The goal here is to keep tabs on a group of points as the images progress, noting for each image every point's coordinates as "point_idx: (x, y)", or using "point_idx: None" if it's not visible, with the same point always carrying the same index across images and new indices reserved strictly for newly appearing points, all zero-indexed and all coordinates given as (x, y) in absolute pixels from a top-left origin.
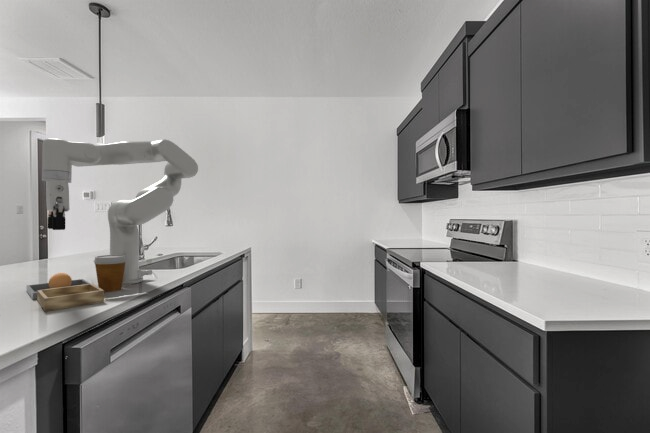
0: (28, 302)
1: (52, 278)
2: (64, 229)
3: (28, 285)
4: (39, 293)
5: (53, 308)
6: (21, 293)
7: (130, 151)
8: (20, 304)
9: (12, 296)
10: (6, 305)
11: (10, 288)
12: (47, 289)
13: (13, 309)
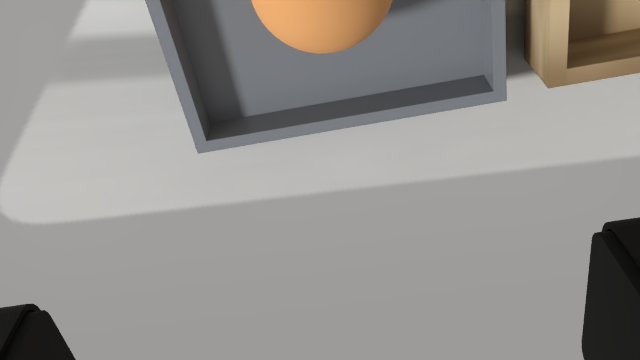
0: None
1: (362, 38)
2: (637, 220)
3: (206, 144)
4: None
5: None
6: None
7: None
8: (517, 121)
9: (268, 175)
10: (492, 169)
11: (7, 210)
12: (563, 38)
13: (614, 134)
